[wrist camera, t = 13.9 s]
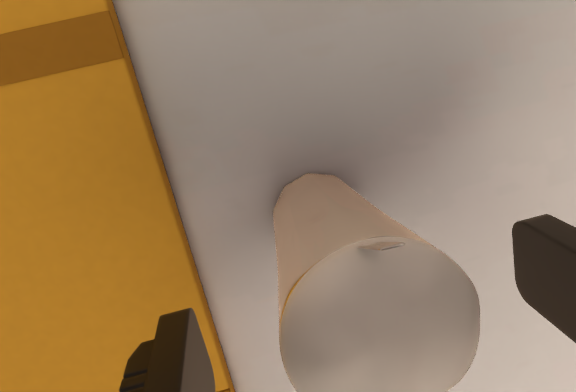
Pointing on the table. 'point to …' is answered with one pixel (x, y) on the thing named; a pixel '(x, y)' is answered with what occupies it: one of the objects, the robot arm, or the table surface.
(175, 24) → the table surface
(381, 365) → the milkshake
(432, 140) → the table surface
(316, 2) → the table surface
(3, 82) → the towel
